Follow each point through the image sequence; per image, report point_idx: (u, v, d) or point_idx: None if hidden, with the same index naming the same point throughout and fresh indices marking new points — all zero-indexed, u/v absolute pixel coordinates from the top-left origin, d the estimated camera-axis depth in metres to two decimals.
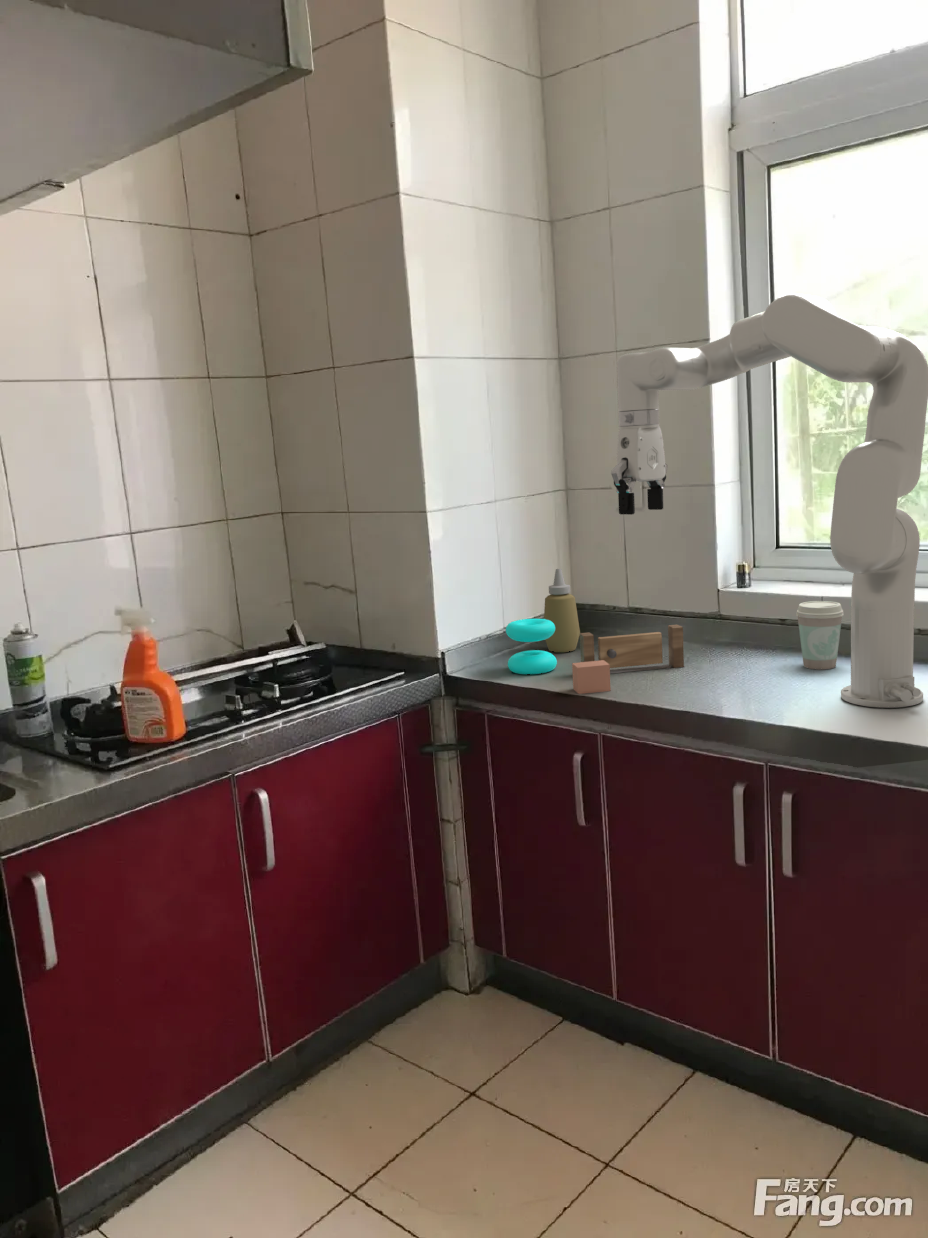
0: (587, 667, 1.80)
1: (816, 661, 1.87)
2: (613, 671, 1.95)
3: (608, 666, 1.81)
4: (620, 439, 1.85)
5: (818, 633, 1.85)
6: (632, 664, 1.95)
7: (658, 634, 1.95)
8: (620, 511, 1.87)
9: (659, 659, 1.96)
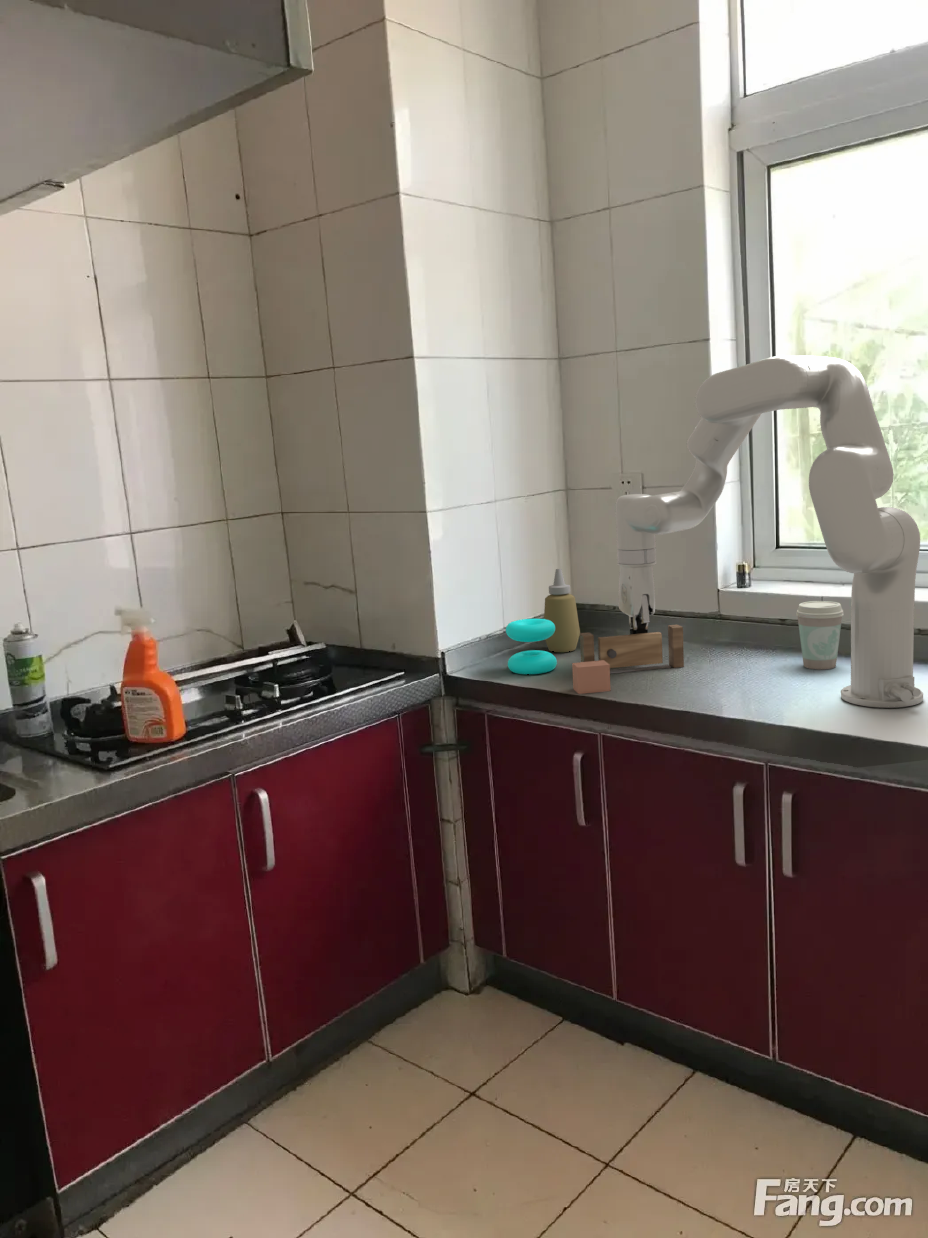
0: (587, 667, 1.80)
1: (816, 661, 1.87)
2: (613, 671, 1.95)
3: (608, 666, 1.81)
4: None
5: (818, 633, 1.85)
6: (632, 664, 1.95)
7: (658, 634, 1.95)
8: None
9: (659, 659, 1.96)
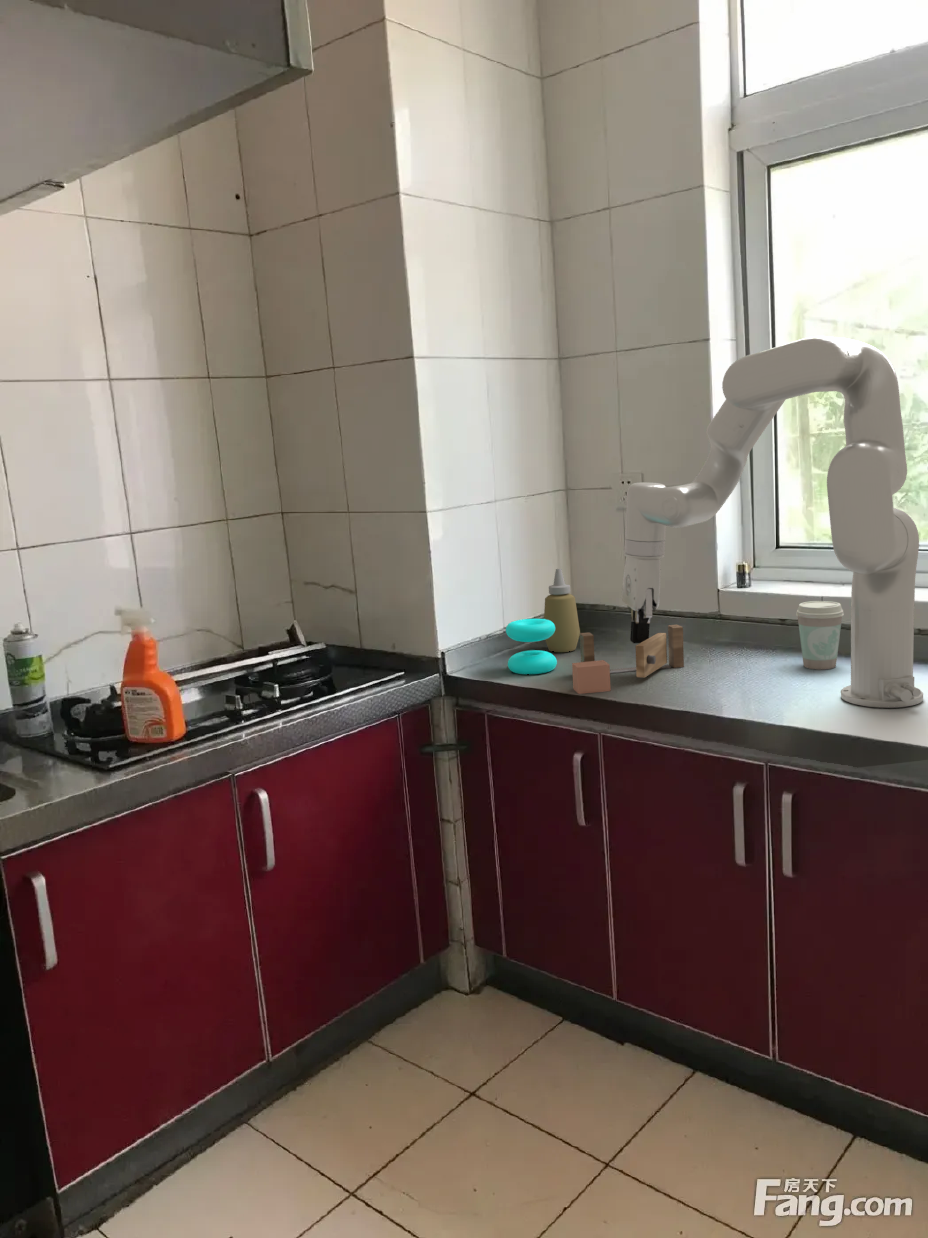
0: (587, 667, 1.80)
1: (816, 661, 1.87)
2: (613, 671, 1.95)
3: (608, 666, 1.81)
4: None
5: (818, 633, 1.85)
6: (656, 668, 1.91)
7: (664, 634, 1.95)
8: None
9: (665, 659, 1.96)
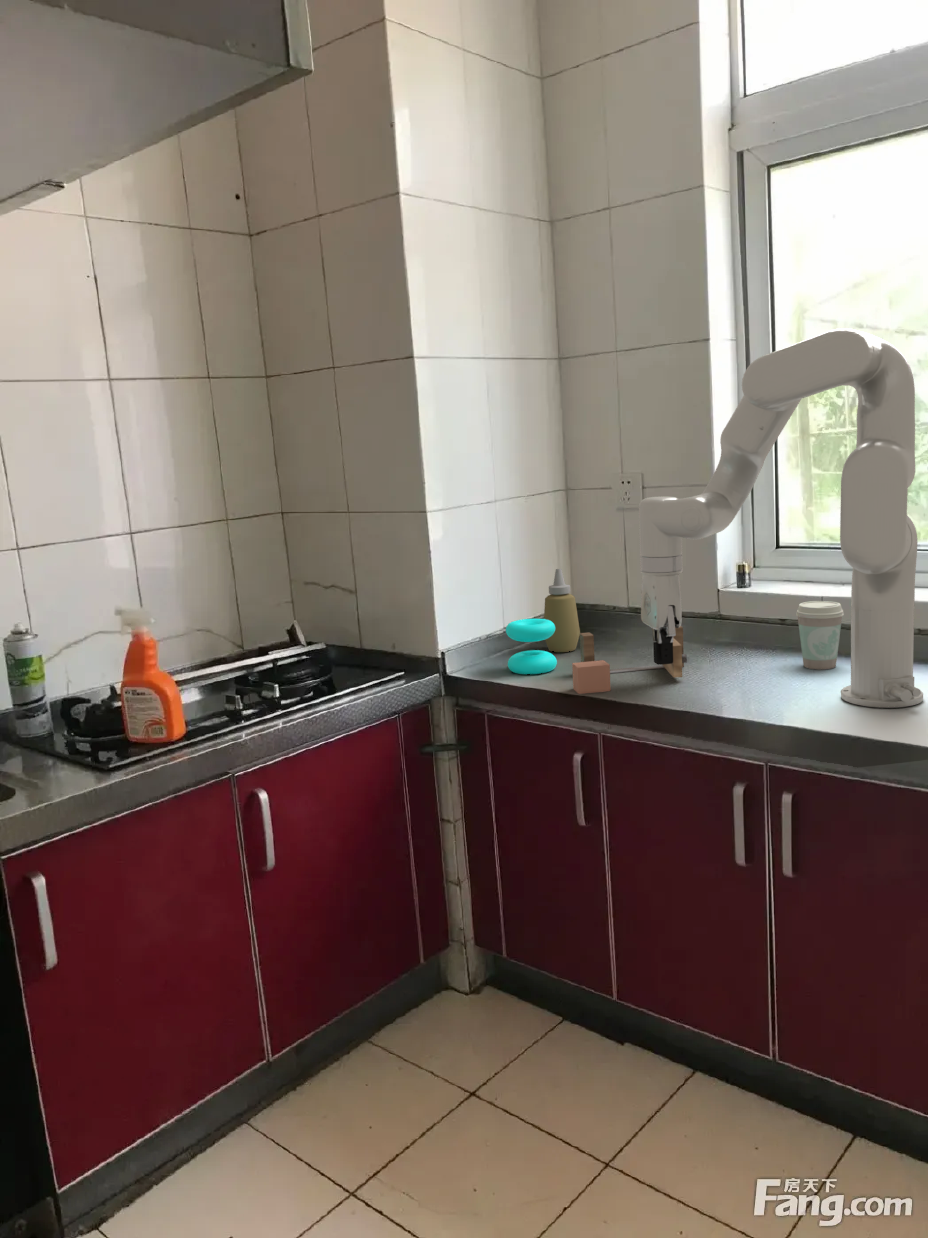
0: (587, 667, 1.80)
1: (816, 661, 1.87)
2: (613, 671, 1.95)
3: (608, 666, 1.81)
4: None
5: (818, 633, 1.85)
6: None
7: None
8: None
9: None
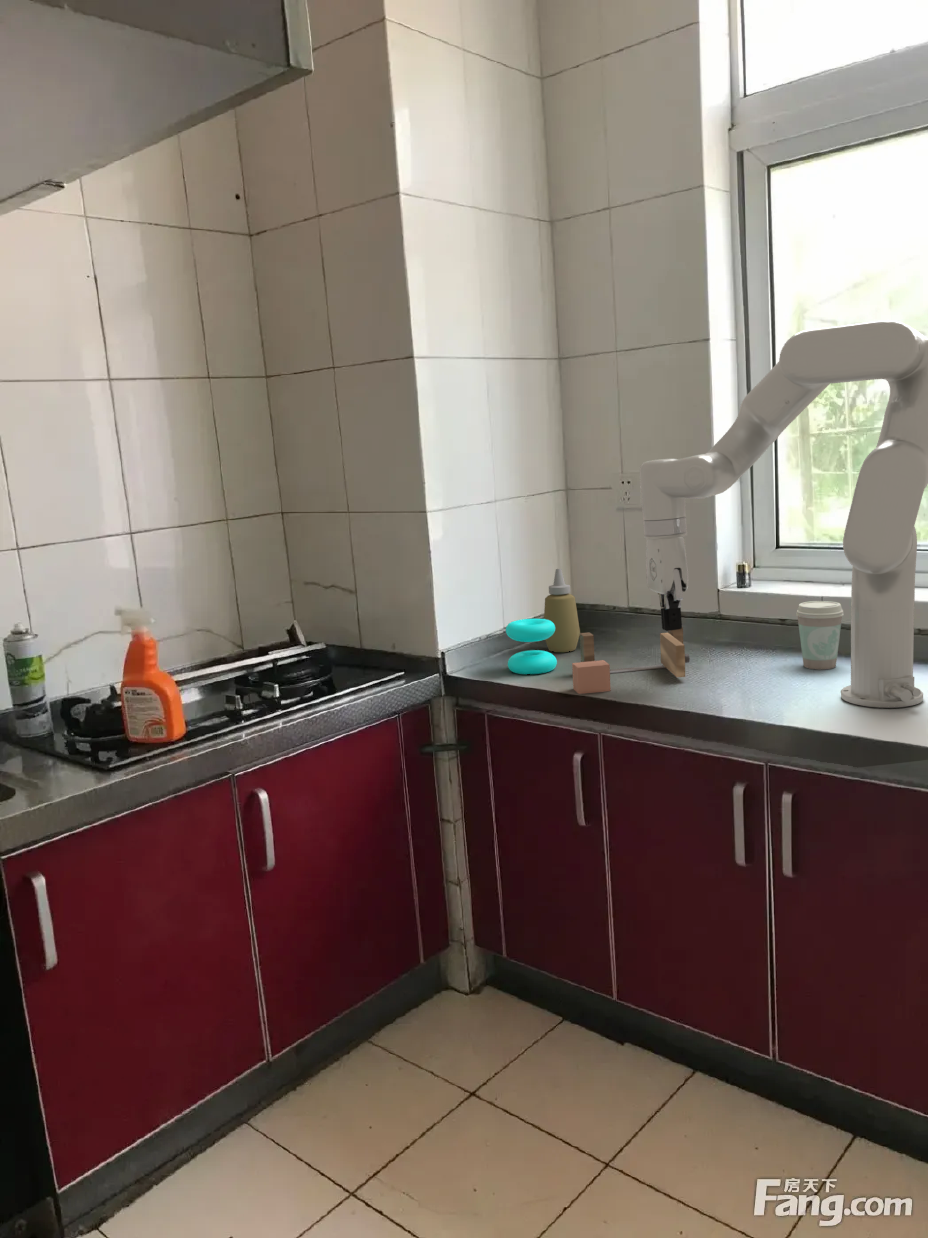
0: (587, 667, 1.80)
1: (816, 661, 1.87)
2: (613, 671, 1.95)
3: (608, 666, 1.81)
4: None
5: (818, 633, 1.85)
6: None
7: (668, 634, 1.95)
8: None
9: None
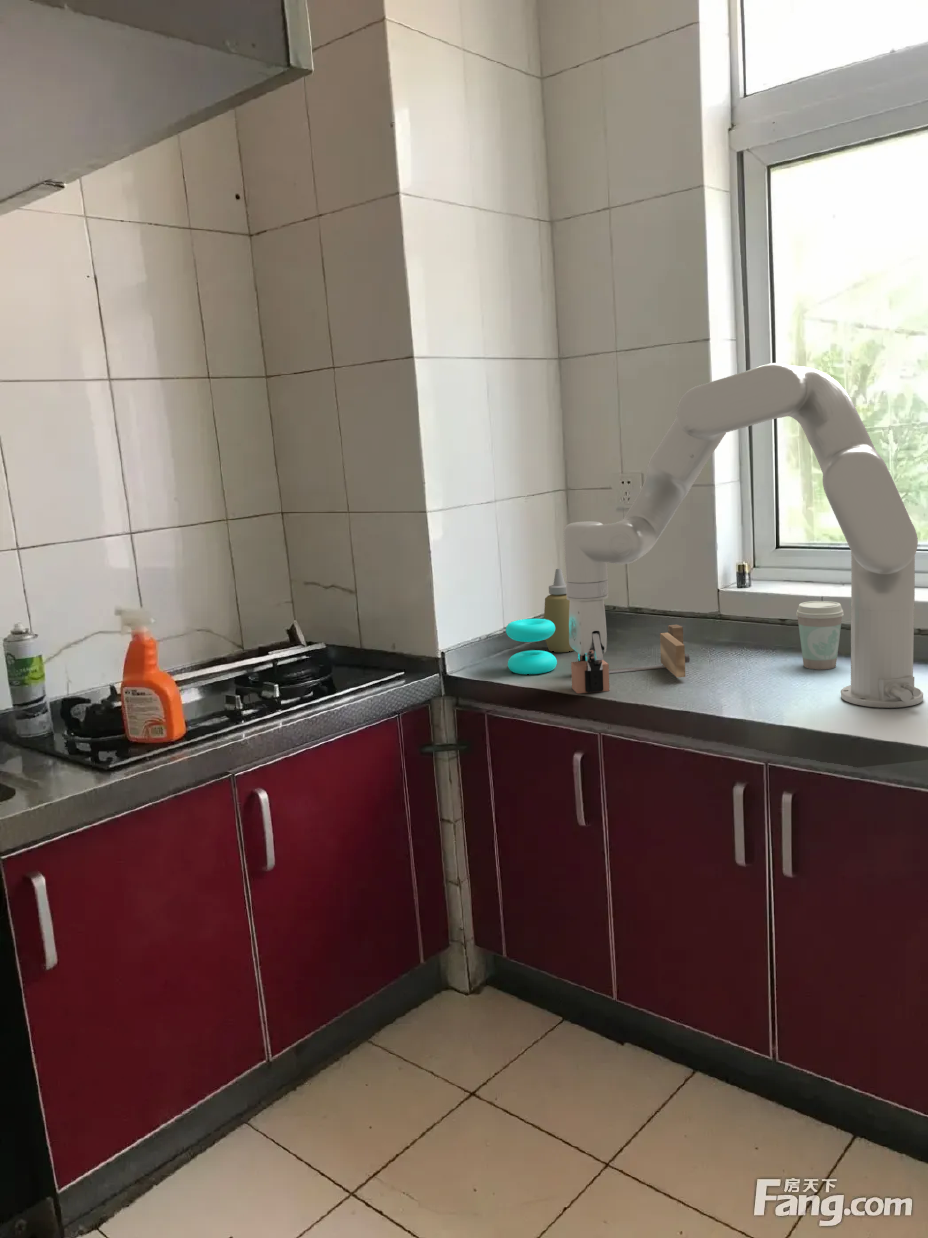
0: None
1: (816, 661, 1.87)
2: (613, 671, 1.95)
3: (607, 665, 1.81)
4: None
5: (818, 633, 1.85)
6: None
7: (668, 634, 1.95)
8: None
9: None
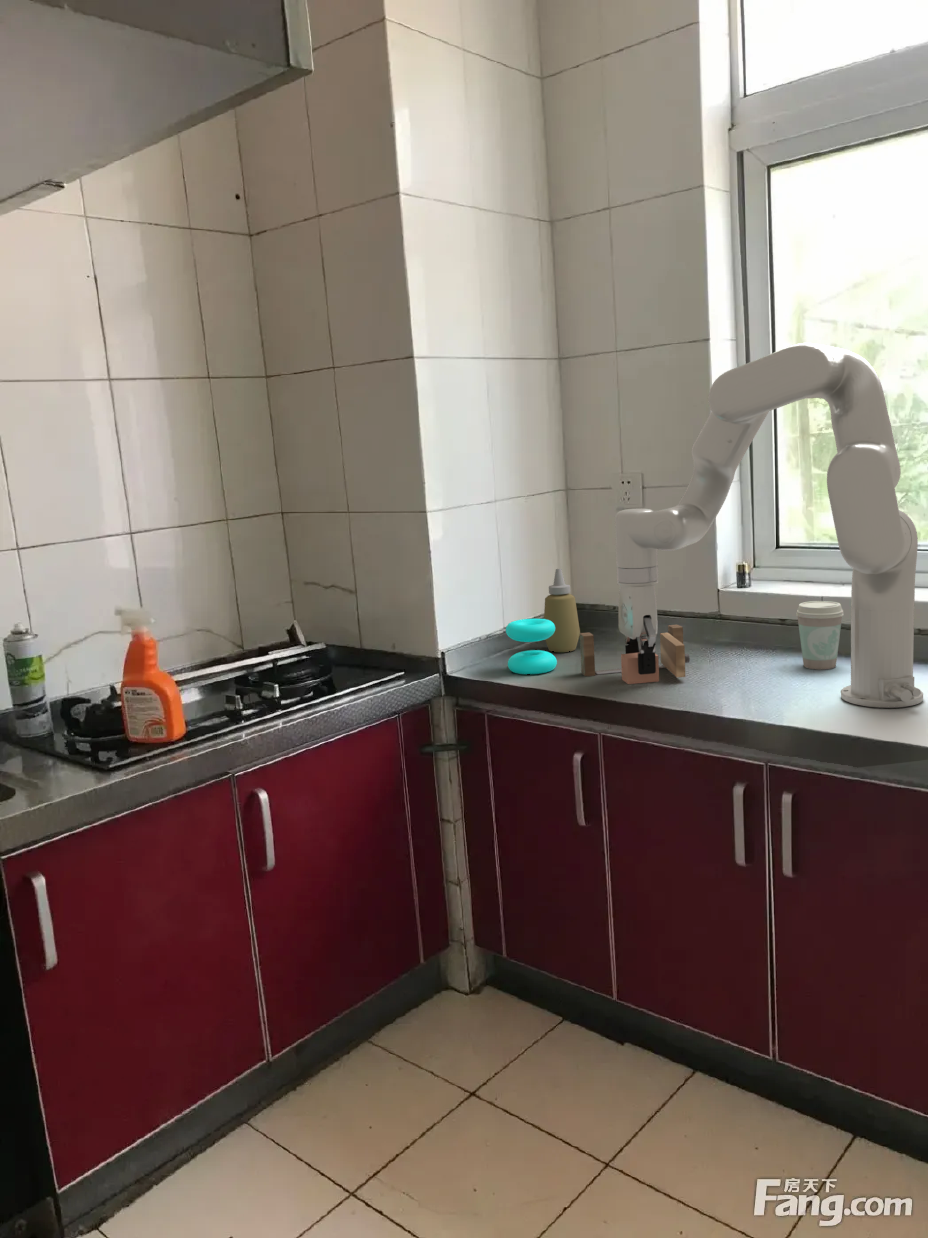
0: (636, 658, 1.85)
1: (816, 661, 1.87)
2: (613, 671, 1.95)
3: (657, 657, 1.86)
4: None
5: (818, 633, 1.85)
6: None
7: (668, 634, 1.95)
8: None
9: None
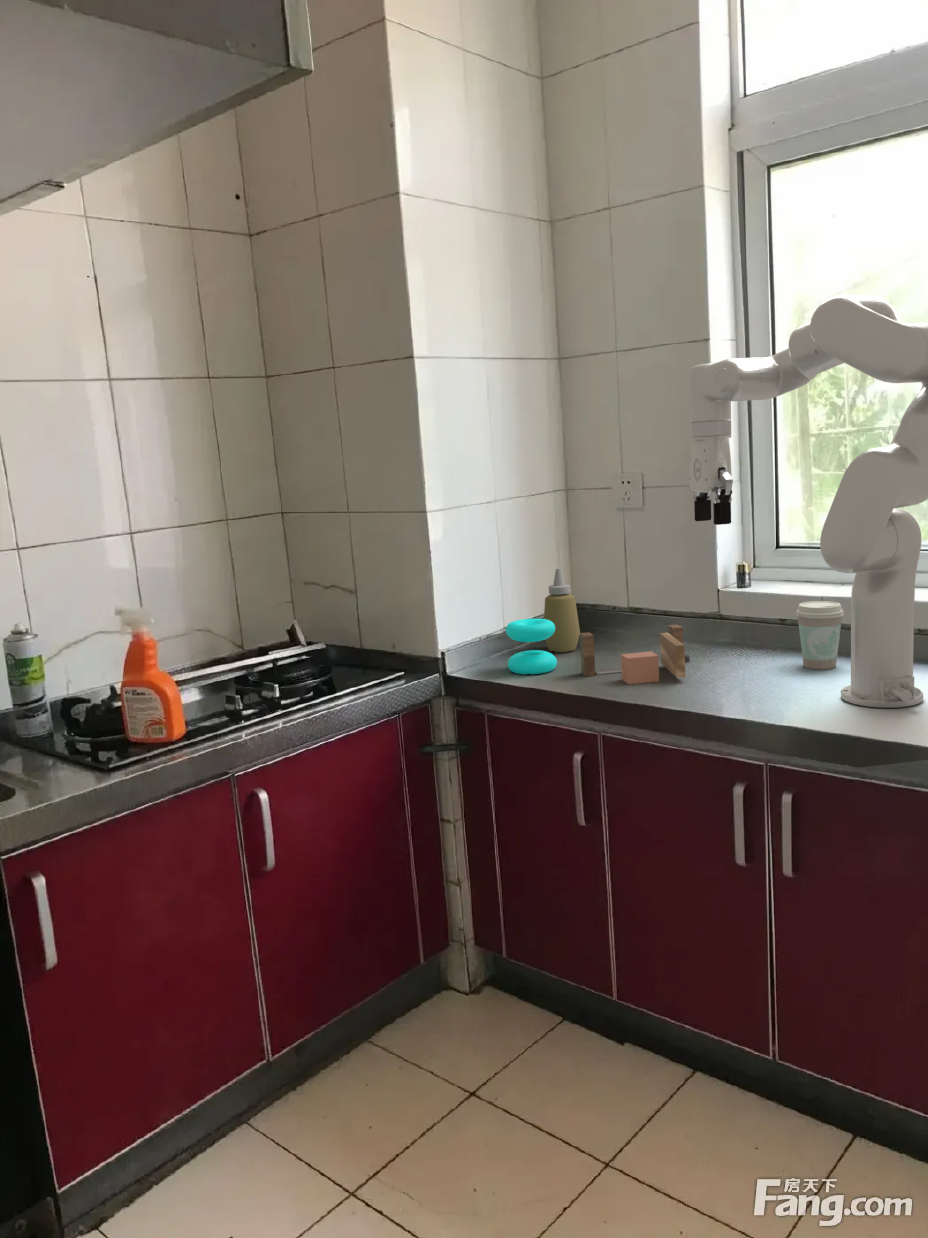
0: (636, 658, 1.85)
1: (816, 661, 1.87)
2: (613, 671, 1.95)
3: (657, 657, 1.86)
4: None
5: (818, 633, 1.85)
6: None
7: (668, 634, 1.95)
8: None
9: None
